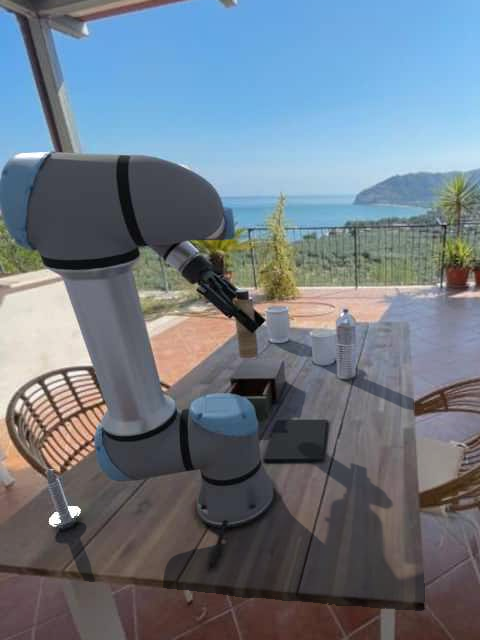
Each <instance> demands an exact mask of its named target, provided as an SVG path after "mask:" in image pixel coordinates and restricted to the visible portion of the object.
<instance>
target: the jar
mask: <svg viewBox="0 0 480 640" xmlns="http://www.w3.org/2000/svg"><path fill="white" fill-rule="evenodd" d="M289 311H290V307H289V306H287V305H271V306H267V307H265V308H264V313H265V318H264V319H265V320H266V321H265V326H266V327H265V328H266V330H267V334H268V336H269V342H270V343H273V344H283V343H284V344H285V343H286V342H288V341H289V340H290V338H289V337H288V336H289V334H290V326H291V318H290V314H289Z"/></svg>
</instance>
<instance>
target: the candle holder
mask: <svg viewBox="0 0 480 640" xmlns="http://www.w3.org/2000/svg"><path fill="white" fill-rule="evenodd" d="M309 334H310V341H311V354H312V361H313V363H314V364H315V365H317V366H330V365H333V364H334V363H335V361H336V330H334V329H332V328H315V329H313V330H311V331H310V332H309Z"/></svg>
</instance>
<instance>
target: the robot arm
mask: <svg viewBox="0 0 480 640" xmlns="http://www.w3.org/2000/svg"><path fill="white" fill-rule="evenodd" d="M233 211H234V210H233V208H231V207H230V206H224V204H223V201H222V198H221V196H220V194H219V193H218V191H217V189H216V188H215V187H214V186H213V184H212V183H210V181H208V180H207V178H206V179H205V178H204V177H203V176H201V175H199V174H198V173H197V172H194V171H193V170H191V169H189V168H187V167H185V166H182V165H180V164H178V163H175V162H172V161H169V160H167V159H162V158H159V157H156V156H150V155H143V154H131V155H130V154H127V155H126V154H106V153H82V152H80V153H79V152H60V151H59V152H58V151H53V150H51V151H47V152H46V151H42V152H39V151H38V152H23V153H22V152H21V153H18V154H15V155H13V156H12V157H11V158H9V159H8V160H7V161H6V163H5V164H4V166H3V168H2V171H1V175H0V212H1V217H2V220H3V223H4V225H5V227H6V231H7V232H8V234H9V235H10V237H11V238H12V239H13V240H14V242H15V243H16V244H17V245H18V246H19V247H21V248H23V249H26V250H29V251H32V252H33V251H35V252H36V251H38V253H39V256H40V258H41V261H42V264H43V266H44V268H46V270H49V271H51V272H52V273H55V274H56V275H59V276H60V277H61V278H62V280H63V283H64V287H65V289H66V292H67V295H68V298H69V301H70V304H71V306H72V311H73V313H74V316H75V318H76V321H77V324H78V327H79V329H80V333H81V335H82V339H83V342H84V344H85V347H86V351H87V353H88V356H89V359H90V362H91V365H92V368H93V371H94V374H95V375H96V379H97V382H98V385H99V388H100V390H101V391H100V392H101V394H102V397H103V400H104V402H105V405H106V409H107V410H106V411H105V412H104V414H103V415H102V417H101V422H99V424H98V425H97V427H96V429H95V433H94V448H95V449H96V451H95V457H96V460H97V463H98V466H99V467H100V469H101V471H102V473H103V474H104V475H105V476H106V477H107V478H108V479H110V480H112V481H115V482H130V481H133V482H137V481H143V480H145V479H151V478H156V477H162V476H167V475H173V474H179V473H186V472H191V471H197V470H199V471H200V475H201V476H200V477H201V478H200V483H199V486H198V492H197V495H196V510H197V515H198V517H199V518H200V520H201V521H202V522H203V523H204V524H206V525H208V526H211V527H213V528H217V529H220V531H219V534H218V538H217V541H216V545H215V547H214V548H215V549H214V551H213V554H212V557H211V560H210V562H209V566H212V567H213V566H215V565H216V561H217V558H218V556H219V554H220V550H221V547H222V542H223V539H224V534H225V531H226V529H233V528H238V527H242V526H245V525H247V524H249V523H252V522H254V521H256V520H258V518H260V517H261V516H263V515H264V514H265V513H266V512H267V511H268V509H269V508H270V507H271V505H272V503H273V500H274V495H275V493H274V486H273V482H272V479H271V478H270V476H269V474H268V473H267V471H266V469H265V467H264V465H263V463H262V456H261V454H262V453H261V447H260V438H259V430H258V429H259V421H258V420H257V419H256V413H255V408H254V406H253V404H252V403H251V402H250V401H249V400H247V399H246V398H243V397H241V396H239V395H235V394H229V393H228V392H216V393H209V394H206V395H204V396H200V397H198V398H196V399H194V400H193V401H192V402H191V404H190V406H189V408H183V409H177V405H176V402H175V400H174V399H173V397H171V396H170V395H166V394H164V391H163V387H162V383H161V379H160V375H159V371H158V368H157V364H156V363H157V362H156V360H155V356H154V355H155V354H154V352H153V348H152V343H151V339H150V336H149V332H148V328H147V323H146V320H145V315H144V312H143V308H142V304H141V301H140V300H141V299H140V295H139V292H138V288H137V284H136V279H135V275H134V272H133V271H134V270H133V268H134V266H135V265H136V264H137V262H138V261H140V259H141V252H140V248H139V247H149V248H150V249H151V250H152V251H154V252H155V253H156V254H157V255H158V256H159V257H161V259H163V261H164V262H166V263H167V264H168V265H169V266H170V268H171V269H172V270H175V271H176V272H177V273H179V274H181V277H182V278H183V279H185V281H187V283H189V284H190V285H196V284H197V285H198V286H197V287H196V289H195V291H196V292H197V293H199V294H200V295H201V296H203V297H204V298H205V299H206V300H208V302H210V303H211V304H212V305H213V306H214V307H215V308H216V309H218V311H220V312H221V314H223V315H224V316H225V317H227V318H228V319H232V318H234V320H235V319H237V320H238V321H239V322H240V323H241V324H242V325H243V326H244V327H245V328H246V329H248V330H249V331H250V332H251V333H252V334H253V333H254V332H255V331H256V332H257V330H258V329H259V328H260V327H262V325H263V324H264V323H266V320H265V318H264V317H263V315H262V314H261V313H259V312H258V311H257V310H256V309H255V308H254V317H255V321H254V320H252V319H251V318H250V317H249V316H248V315H247V314H246V313H245V312H244V311H243V310H242V309H240V310H239V311H238V308H237V307H236V306H235V305H234V304H233V298H235V297H236V290H239V289H238V287H236V286H235V285H234V284H233V283H232V282H231V281H230V280H229V279H228V278H227V277H226V275H224V274H220V276H219V275H218V274H217V273H215V272H214V271H212V268H213V263H212V262H211V261H210V260H209V259H208V258H206V257H205V256H204V255H203V254H201V253H200V251H199V250H198V249H197V248H196V247H195V246H194V245H193V244H192V243H191V242H190V241H227V240H234V239H235V237H236V229H235V227H236V226H235V218H234V212H233Z"/></svg>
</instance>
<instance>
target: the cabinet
mask: <svg viewBox="0 0 480 640" xmlns="http://www.w3.org/2000/svg"><path fill="white" fill-rule="evenodd" d="M285 371H286V370H285V360H284V358H242V361H241V362H240V364H239V365H238V366H237V368H236V370H234V372H233V374H232V375H231V377H230V378H229V380H230V388H231V387H232V385H233V384H234V382H235V381H273V389H274V398H273V400H272V403H271V404H278V402H279V399H280V397H281V395H282V392H283V389H284V386H285V384H286V372H285Z"/></svg>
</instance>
